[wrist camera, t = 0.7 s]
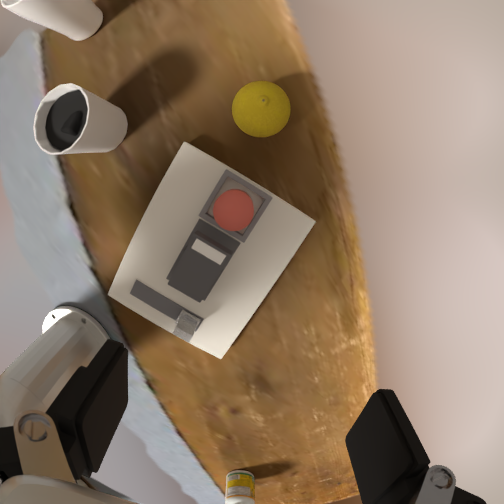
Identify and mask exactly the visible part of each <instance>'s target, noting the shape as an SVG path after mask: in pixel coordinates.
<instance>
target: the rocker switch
mask: <svg viewBox="0 0 504 504" xmlns="http://www.w3.org/2000/svg"><path fill="white" fill-rule="evenodd" d="M232 253H233V251H231V250H230V249H228V248H226V247H225V246H223V245H221V244H220V243H218V242H216V241H215V240H213V239H211V238H210V237H208V236H206V235H204V234H203V233H201V232H199V231H198V230H197V231H196V232H195V233H194V235H193V237H192V239H191V241H190V242H189V244H188V246H187V248H186V250H185V252H184V254H183V255H182V257H181V259H180V261H179V263H178V265H177V267H176V268H175V270H174V272H173V274H172V276H171V278H170V280H169V282H168V285H170V286H171V287H173V288H175V289H176V290H178V291H180V292H182V293H183V294H185V295H187V296H189V297H190V298H192V299H194V300H196V301H197V302H199V303H200V302H201V301H202V299H203V298H204V296H205V295H206V293H207V292H208V290H209V289H210V287H211V286H212V284H213V283H214V281H215V280H216V278H217V277H218V275H219V274H220V272H221V271H222V269H223V268H224V266H225V265H226V263H227V262H228V260H229V259H230V257H231V255H232Z"/></svg>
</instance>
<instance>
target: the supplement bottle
mask: <svg viewBox="0 0 504 504" xmlns="http://www.w3.org/2000/svg"><path fill="white" fill-rule="evenodd" d="M254 489H255V488H254V476H253V474H252V473H251V472H249V471H245V470H234V471H231V472H229V473H228V474H227V478H226V495H225V504H255V490H254Z"/></svg>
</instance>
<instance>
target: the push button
mask: <svg viewBox="0 0 504 504" xmlns="http://www.w3.org/2000/svg"><path fill="white" fill-rule="evenodd" d="M213 215H214V219H215V221H216V222H217V224H218V225H219V226H220V227H222V228H223V229H225V230H228V231H239V230H242V229H244V228H245V227H247V226H248V225H249V224H250V222H251V220H252V218H253V215H254V207H253V202H252V199H251V197H250V196H249V195H248V194H247V193H246V192H245V191H243V190H240V189H230V190H227V191H225V192H224V193H223V194H221V195H220V196H219V197H218V198H217V200H216V201H215V203H214V207H213Z"/></svg>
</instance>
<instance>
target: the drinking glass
mask: <svg viewBox="0 0 504 504" xmlns="http://www.w3.org/2000/svg"><path fill="white" fill-rule="evenodd" d="M1 4H2V6H3V7H4V8H7V9H8V10H9V11H11V12H13V13H14V14H16V15H18V16H20V17H22V18H24V19H27V20H29V21H32V22H34V23H37V24H39V25H42V26H44V27H47V28H49V29H52V30H54V31H57V32H59V33H61V34H63V35H65V36H67V37H69V38H71V39H72V40H75V41H81V40H85V39H87V38H89V37H90V36H92V35H93V34H94V33H95V32H96V31H97V30H98V29H99V27H100V26H101V24H102V21H103V13H102V11H101V10H100V9H99V8H98V7H97V6H96V5H95V4H94V2H93V1H92V0H1Z"/></svg>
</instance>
